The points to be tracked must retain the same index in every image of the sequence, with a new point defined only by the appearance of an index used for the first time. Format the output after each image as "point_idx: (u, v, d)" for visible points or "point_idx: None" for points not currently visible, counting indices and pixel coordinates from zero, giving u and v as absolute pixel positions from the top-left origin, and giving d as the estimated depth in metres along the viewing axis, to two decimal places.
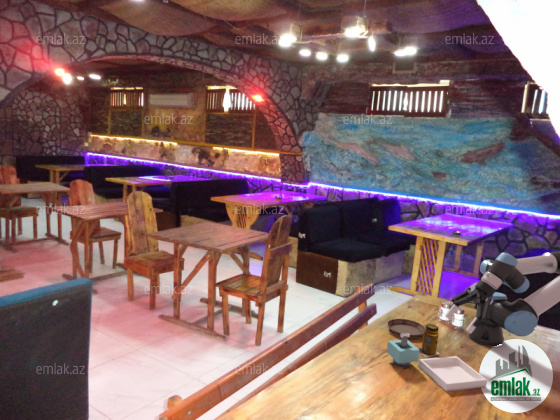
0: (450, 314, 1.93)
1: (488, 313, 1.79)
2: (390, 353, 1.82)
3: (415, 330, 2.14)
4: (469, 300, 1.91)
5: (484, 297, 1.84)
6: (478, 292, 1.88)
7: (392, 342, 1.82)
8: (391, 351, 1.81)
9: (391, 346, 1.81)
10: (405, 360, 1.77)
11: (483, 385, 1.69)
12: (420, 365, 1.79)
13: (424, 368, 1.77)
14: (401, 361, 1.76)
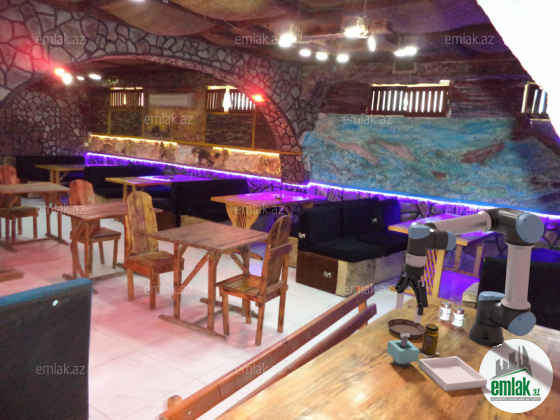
0: (399, 304, 1.84)
1: (425, 297, 1.68)
2: (390, 353, 1.82)
3: (415, 330, 2.14)
4: (408, 284, 1.79)
5: (415, 281, 1.72)
6: (410, 276, 1.76)
7: (392, 342, 1.82)
8: (391, 351, 1.81)
9: (391, 346, 1.81)
10: (405, 360, 1.77)
11: (483, 385, 1.69)
12: (420, 365, 1.79)
13: (424, 368, 1.77)
14: (401, 361, 1.76)
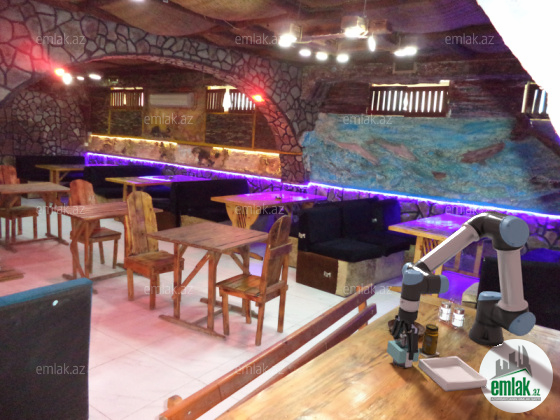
0: None
1: (416, 344, 1.73)
2: (390, 353, 1.82)
3: None
4: (403, 328, 1.82)
5: (409, 325, 1.75)
6: (403, 319, 1.79)
7: (392, 342, 1.82)
8: (391, 351, 1.81)
9: (391, 346, 1.81)
10: (405, 360, 1.77)
11: (483, 385, 1.69)
12: (420, 365, 1.79)
13: (424, 368, 1.77)
14: (401, 361, 1.76)
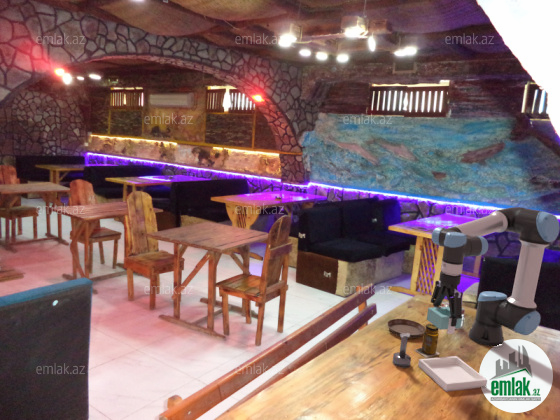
0: None
1: (459, 309, 1.65)
2: (430, 320, 1.74)
3: (415, 330, 2.14)
4: (444, 295, 1.74)
5: (452, 290, 1.67)
6: (445, 284, 1.71)
7: (432, 309, 1.75)
8: (432, 318, 1.73)
9: (432, 313, 1.73)
10: (447, 327, 1.69)
11: (483, 385, 1.69)
12: (420, 365, 1.79)
13: (424, 368, 1.77)
14: (443, 327, 1.68)
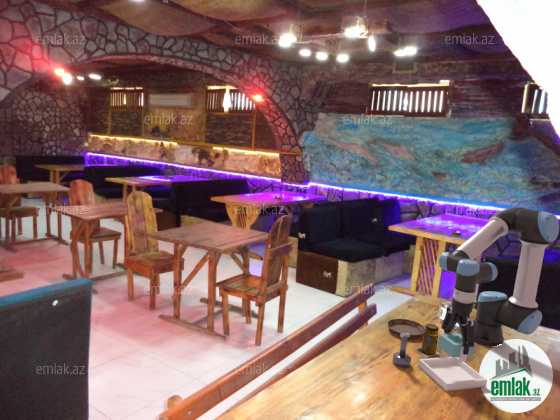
0: None
1: (472, 337, 1.65)
2: (442, 347, 1.73)
3: (415, 330, 2.14)
4: (455, 322, 1.74)
5: (464, 318, 1.67)
6: (457, 312, 1.71)
7: (444, 336, 1.74)
8: (444, 345, 1.72)
9: (443, 340, 1.73)
10: (459, 354, 1.68)
11: (483, 385, 1.69)
12: (420, 365, 1.79)
13: (424, 368, 1.77)
14: (455, 355, 1.68)
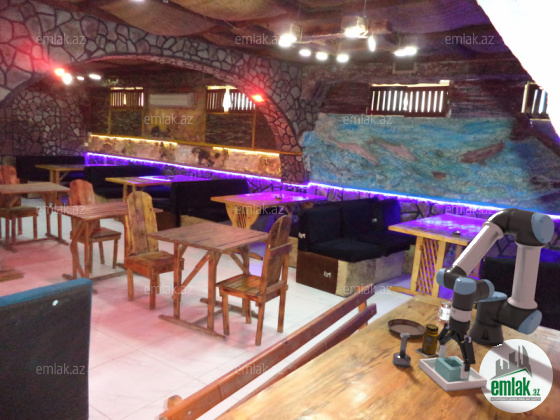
0: (442, 355, 1.80)
1: (472, 354, 1.64)
2: (439, 371, 1.75)
3: (415, 330, 2.14)
4: (451, 337, 1.76)
5: (461, 336, 1.68)
6: (454, 329, 1.72)
7: (440, 360, 1.76)
8: (440, 369, 1.74)
9: (440, 364, 1.75)
10: (456, 379, 1.70)
11: (483, 385, 1.69)
12: (420, 365, 1.79)
13: (424, 368, 1.77)
14: (452, 380, 1.70)
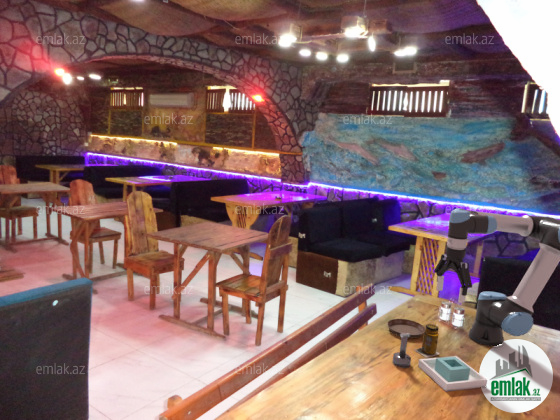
0: (440, 286, 1.93)
1: (469, 278, 1.77)
2: (439, 371, 1.75)
3: (415, 330, 2.14)
4: (448, 267, 1.88)
5: (458, 263, 1.81)
6: (451, 258, 1.85)
7: (440, 360, 1.76)
8: (440, 369, 1.74)
9: (440, 364, 1.75)
10: (456, 379, 1.70)
11: (483, 385, 1.69)
12: (420, 365, 1.79)
13: (424, 368, 1.77)
14: (452, 380, 1.70)
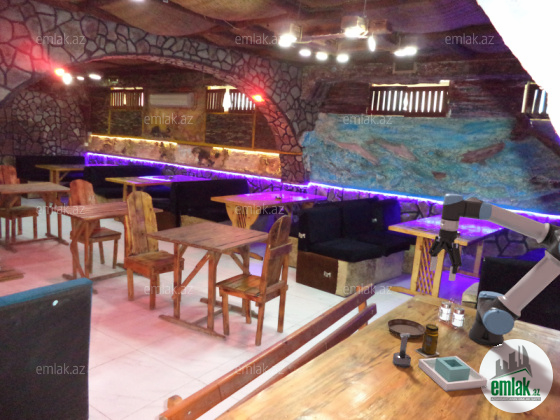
0: (433, 266, 2.05)
1: (459, 257, 1.89)
2: (439, 371, 1.75)
3: (415, 330, 2.14)
4: (441, 248, 2.00)
5: (450, 243, 1.93)
6: (444, 239, 1.96)
7: (440, 360, 1.76)
8: (440, 369, 1.74)
9: (440, 364, 1.75)
10: (456, 379, 1.70)
11: (483, 385, 1.69)
12: (420, 365, 1.79)
13: (424, 368, 1.77)
14: (452, 380, 1.70)
